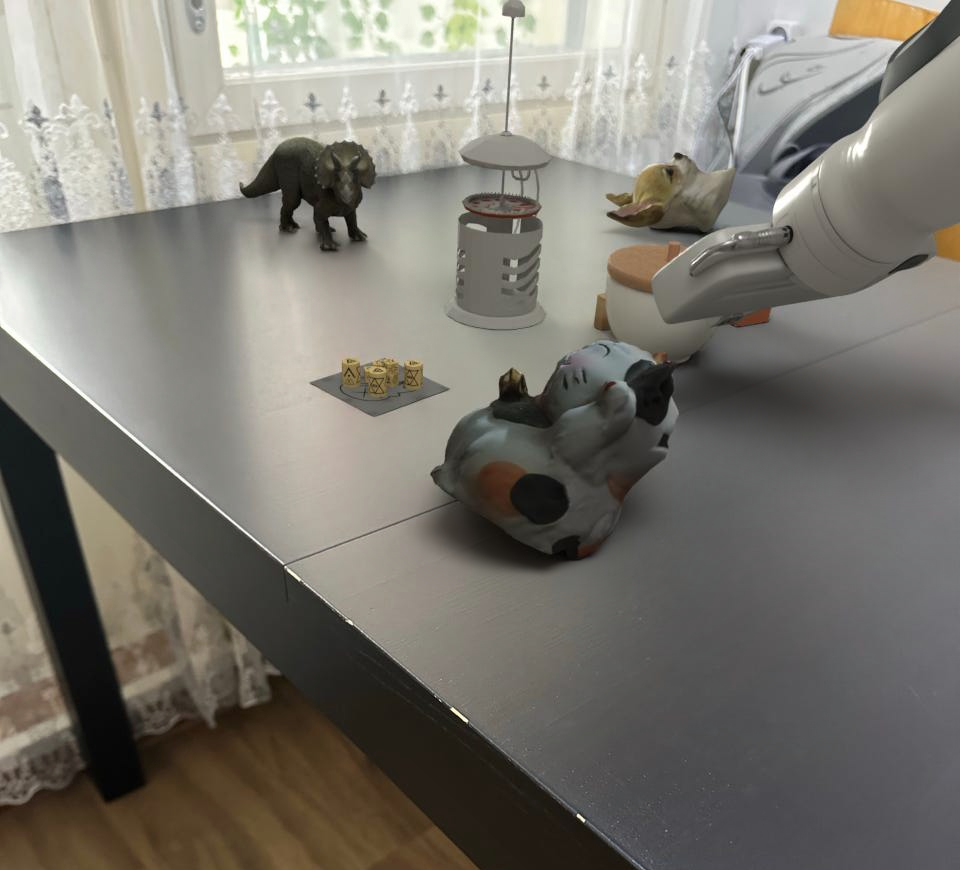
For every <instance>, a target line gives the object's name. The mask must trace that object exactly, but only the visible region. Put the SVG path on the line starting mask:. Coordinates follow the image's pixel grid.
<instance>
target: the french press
mask: <svg viewBox="0 0 960 870" xmlns="http://www.w3.org/2000/svg"><path fill="white" fill-rule="evenodd" d="M501 16H502V17H508V18H509V17H510V18H511V20H510V21H511V23H510V41H509V55H508V56H509V57H508V71H507V72H508V74H507V88H506V89H507V91H506V105H505V106H506V108H505V123H504V127H505V128H504V130H503V131H501V132H495V133H490V134H486V135H482V136H480V137H477V138H474V139H471V140H470V141H469V142H467V143H466V144H465V145H464V146H463V147H461V148H460V149H459V150H458V153H459V155H460V157H461V159H462V161H463V162H464V163H467V164H469V165H470V166H474V167H479V168H483V169H489V170H496V171H502V175H501V190H500V191H501V192H497V191H496V192H493V191H491V192H488V191H487V192H486V191H485V192H480V193H474V194H469V195H467V196H466V197H464V199H463V200H462V201H461V203H462V205H463V207H464V209H465V211H468V212H464V213H461V215H459V216H458V218H457V236H456V237H457V241H456V244H457V250H456V260H457V261H456V270H455V273H456V276H455V290H454V291H455V295H454V296H453V297H452V298H451V299H450V300H449V301H448V302H447V304H446V305H445V306H444V310H445V313H446V315H447V316H448V317H450V318H451V319H453V321H456V322H458V323H462V324H464V325H467V326H470V327H474V328H481V329H488V330H518V329H523V328H524V329H525V328H529V327H533V326H535V325H537V324H539V323H541V322H543V321H544V319H545V318H546V316H547V313H546V311H545V309H544V306H542V305H541V303H540V302H539V301H538V289H539V286H538V283H539V281H540V271H538V270H539V269H540V267H541V258H540V255H541V253H542V246H543V245H542V243H541V241H542V239H543V235H544V233H543V232H544V223H543V221H542V220H541V219H540V218H538V214H539V212H540V211H541V209H542V208H543V206H542V205H541V204H540V181H539V174H538V170H539V169H543V168H546V167H547V166H548V165H549V164H550V162H551V161H552V159H553V158H552V156H551V155H550V154H549V153H548V152H547V151H546V150H545V149H544V148H543V147H542V146H541V145H539V144H538V143H537V142H536V141H534V140H531V139H530V138H528V137H526V136H524V135H521V134H513V133H512V132H511V131H510V130H508V129H509V128H508V126H509V112H510V111H509V110H510V94H511V93H510V92H511V79H512V78H511V77H512V64H513V63H512V62H513V61H512V60H513V45H514V31H515V30H514V27H515V26H514V25H515V19H516V18H525V16H526V6H525V5H524V3H523V1H522V0H507V1H505V2H504V3H503V5H502V8H501ZM506 171H507V172H509V171H510V174H511V177H512V178H513V179H514V180H515V181H519V182H520V193H519V194H518V193H515V194H514V193H513V192H512V193H511V192H508V194H507V192H505V179H506V178H505V176H506ZM522 171H523V172H524V171H527V172H526V173H527V175H526V177H524V176H523V172H522ZM532 171H534V174H535V183H536V199H534V198H531V197H529V196H526V195H524V193H525V189H524V182H526V181H528V180H529V179H530V178H531V172H532ZM515 172H518V174H519V176H516V175H515ZM514 220H516V222H515V223H516V224H515V227H514ZM468 224H473V225H479V226H482V227H485V228H486V231H485V230H480V229H476V228H472V227H470V226H467V225H468ZM519 226H520V227H519ZM518 228H519V233H518V232H517V231H518ZM513 229H514V230H513ZM511 261H517V264H516V265H517V266H515V267H512V266H511ZM463 269H464V271H463ZM510 276H516V279H515V281H510Z"/></svg>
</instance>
